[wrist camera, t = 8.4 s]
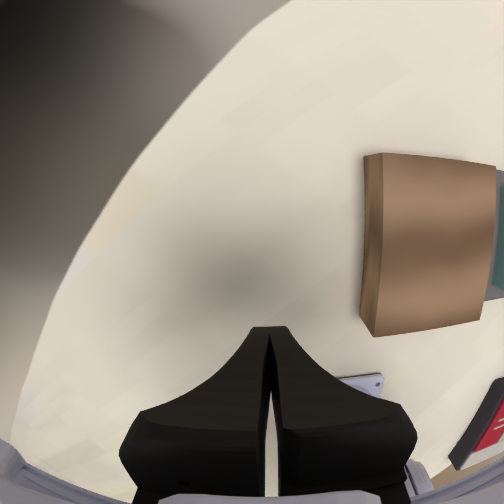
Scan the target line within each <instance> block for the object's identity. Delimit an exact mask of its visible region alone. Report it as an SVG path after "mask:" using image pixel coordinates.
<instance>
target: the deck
mask: <svg viewBox="0 0 504 504" xmlns="http://www.w3.org/2000/svg"><path fill="white" fill-rule="evenodd" d="M364 174H365V241H364V265H363V281H362V294H361V306H360V317H361V319H362V320H363V322H364V323H365V325H366V327H367V328H368V330H369V331H370V333H371V335H372V336H373V337H382V336H390V335H397V334H404V333H411V332H418V331H424V330H430V329H436V328H441V327H447V326H452V325H457V324H462V323H467V322H472V321H477V320H479V319H480V315H481V311H482V307H483V302H484V298H485V293H486V288H487V282H488V276H489V270H490V264H491V256H492V248H493V239H494V227H495V211H496V166H492V165H486V164H480V163H474V162H467V161H460V160H453V159H445V158H437V157H428V156H418V155H407V154H394V153H378V154H373V155H369V156H364Z"/></svg>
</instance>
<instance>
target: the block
mask: <svg viewBox="0 0 504 504" xmlns="http://www.w3.org/2000/svg"><path fill="white" fill-rule="evenodd" d="M492 285H494V286H496V287H497V288H499V289H501V290H502V291H504V187H503V186H501V205H500V224H499V237H498V246H497V255H496V262H495V269H494V275H493V281H492Z"/></svg>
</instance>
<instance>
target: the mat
mask: <svg viewBox="0 0 504 504" xmlns="http://www.w3.org/2000/svg"><path fill="white" fill-rule="evenodd" d="M501 186H503V187H504V171H501V170H496V211H495V227H494V239H493V248H492V256H491V264H490V270H489V276H488V282H487V288H486V293H485V298H484V301H488V300H493V299H499V298H504V291H502V290H501V289H499V288H497V287H496V286H494V285H492V281H493V275H494V269H495V262H496V255H497V246H498V237H499V224H500V205H501Z"/></svg>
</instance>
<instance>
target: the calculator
mask: <svg viewBox="0 0 504 504" xmlns="http://www.w3.org/2000/svg"><path fill="white" fill-rule="evenodd" d="M503 450H504V377H502V378H499V379H496V380H494V381H493V383H492V385H491V387H490V389H489V391H488V393H487V395H486V396H485V398H484V400H483V402H482V404H481V406H480V407H479V409H478V411H477V413H476V415H475V416H474V418H473V420H472V422H471V424H470V426H469V427H468V429H467V431H466V432H465V434H464V436H463V437H462V438H461V439H460V440H459V441H458V443H457V444H456V446H455V447H454V449H453V450H452V451H451V453H450V454H449V456H448V457H449V459H450V461H451V462H452V464H453V466H454V468H455V469H456V470H462V469H465V468H467V467H469V466H472V465H474V464H477V463H479V462H481V461H483V460H486V459H488V458H490V457H492V456H494V455H496V454H499V453H501V452H502V451H503Z"/></svg>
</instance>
